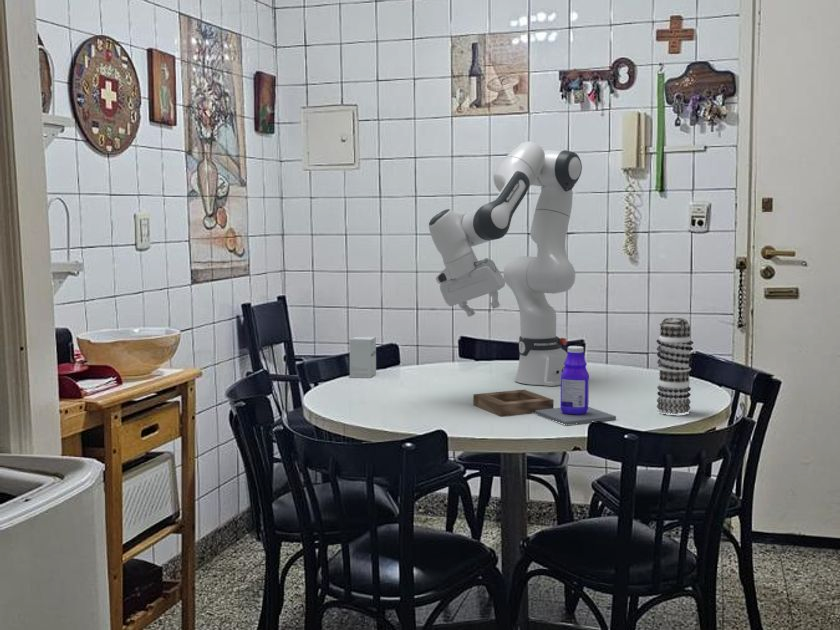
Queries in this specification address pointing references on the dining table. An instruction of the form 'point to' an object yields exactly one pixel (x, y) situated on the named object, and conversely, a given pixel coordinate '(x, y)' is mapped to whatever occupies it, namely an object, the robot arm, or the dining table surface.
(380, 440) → the dining table surface
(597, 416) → the slate mat
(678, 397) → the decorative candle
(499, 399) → the wooden square tray
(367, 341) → the supplement box
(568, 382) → the bottle
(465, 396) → the dining table surface
